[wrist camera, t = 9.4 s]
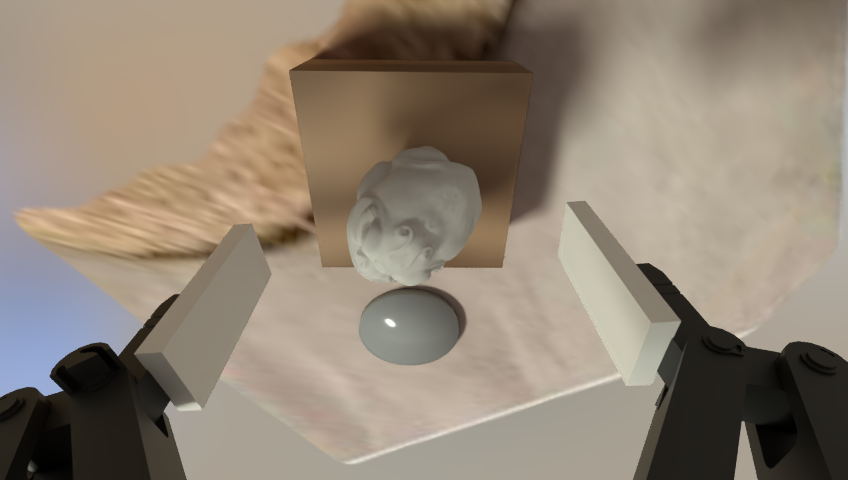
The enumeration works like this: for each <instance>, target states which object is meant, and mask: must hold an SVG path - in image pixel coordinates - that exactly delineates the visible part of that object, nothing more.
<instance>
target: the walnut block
mask: <svg viewBox="0 0 848 480" xmlns="http://www.w3.org/2000/svg"><path fill="white" fill-rule="evenodd" d="M289 74H290V80H291V86H292V92H293V97H294V103H295V109H296V115H297V121H298V127H299V133H300V138H301V144H302V150H303V156H304V162H305V168H306V174H307V179H308V185H309V191H310V197H311V203H312V209H313V215H314V220H315V226H316V232H317V238H318V244H319V250H320V256H321V261H322V267H355V266H354V264H353V262H352V259H351V255H350V251H349V245H348V240H347V222H348V218H349V215H350V212H351V210H352V208H353V206H355V204H356V202H357V201H358V200H357V190H358V186H359V183H360V181H361V180H362V178H363V177H364V175H365V174H366V173H367V172H368V171H369V170H370V169H372V168H373V166H374V165H375V164H376V163H378V162H381V161H388V162H390V161H391V160H392V159H393V157H394V156H395V155H397V154H398V153H400V152H401V151H404V150H407V149H411V148H419V147H422V146H432V147H434V148H436V149H437V150H439V151H440V152H442V153H443V154H444V155H445V156H446V157H447V159H448V160H449V161H450V162H456V163H459V164H462V165H465V166H467V167H470V168H471V169H472V170H473V171H474V173H475V175H476V178H477V182H478V186H479V189H480V196H481V201H482V211H481V215H480V218H479V220H478V222H477V223H476V227H475V230H474V232H473V233H472V234H471V235H469V238H468V240H467V243H466V244H465V246H464V248H463V249H462V250H461V252H460V253H458V254H457V256H455V257H454V258H452V259H451V260H449V261H446V262H445V264H444V267H453V268H502V266H503V259H504V253H505V247H506V241H507V234H508V228H509V222H510V216H511V209H512V203H513V197H514V191H515V184H516V178H517V172H518V166H519V159H520V153H521V147H522V141H523V134H524V128H525V122H526V116H527V109H528V103H529V97H530V91H531V84H532V78H533V73H532V72H530V71H528V70H527V69H525V68H524V67H522V66H520V65H519V64H517V63H516V62H514V61H449V60H373V59H310V60H308V61H306V62H304V63H302V64H300V65H299V66H297V67H295V68H293V69H291V70H289Z"/></svg>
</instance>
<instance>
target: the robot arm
mask: <svg viewBox="0 0 848 480" xmlns="http://www.w3.org/2000/svg"><path fill="white" fill-rule="evenodd" d="M558 258H559V260H560V262H561V263H562V265H563V267H564V269H565V271H566V273H567V275H568V277H569V279H570V280H571V282H572V284H573V286H574V288H575V290H576V292H577V294H578V296H579V298H580V299H581V301H582V303H583V305H584V307H585V309H586V311H587V313H588V315H589V316H590V318H591V320H592V322H593V324H594V326H595V328H596V330H597V332H598V333H599V335H600V337H601V339H602V341H603V343H604V345H605V347H606V349H607V350H608V352H609V354H610V356H611V358H612V360H613V362H614V364H615V366H616V367H617V369H618V371H619V373H620V375H621V377H622V379H623V381H624V383H625V384H626V386H637V385H652V383H653V381H654V379H655V377H656V374H657V373H659V375H660V376H661V378H662V379H663V381H664V383H665V385H664V388H663V389H662V391H661V394H660V395H659V398H658V400H657V402H656V404H655V405H656V406H657V407H656V411H655V414H654V417H653V420H652V423H651V426H650V429H649V432H648V435H647V438H646V441H645V444H644V447H643V450H642V453H641V457H640V460H639V463H638V466H637V469H636V472H635V475H634V478H633V480H734V474H735V468H736V460H737V453H738V445H739V437H740V430H741V422H742V421H745V426H746V430H747V435H748V439H749V443H750V448H751V452H752V456H753V461H754V465H755V469H756V474H757V478H758V480H848V362H847V361H845V360H844V359H843V358H842V357H840V356H839V355H838V354H836V353H834V352H832V351H830V350H828V349H826V348H824V347H821V346H819V345H815V344H812V343H808V342H800V341H797V342H792V343H789V344H788V345H787V346H786V347H785V348H784V349H783V350H782V352H781V353H779V352H773V351H768V350H762V349H757V348H751V347H747V346H746V345H745V344H744V343H743V342H742V341H741V340H740V339H739V338H737V337H736V336H735V335H733V334H731V333H729V332H727V331H725V330H723V329H720V328H716V327H712V326H709V324H708V323H707V322H706V321H705V320H704V319H703V318H702V316H701V315H700V314H699V313H698V312H697V311H696V309H695V308H694V307H693V306H692V305H691V304H690V303H689V301H688V300H687V299H686V298H685V297H684V296H683V295H682V294H680V291H679V290H678V289H677V288H676V287H675V285H672V282H671V281H670V280H669V279H668V277H667V276H666V275H665V274H664V273H663V272H662V271H660V270H659V269H657V268H656V267H654V266H652V265H651V264H649V263H644V264H635V263H634V261H633V260H632V259H631V258H630V256H629V255H628V254H627V253H626V251H625V250H624V249H623V248H622V246H621V245H620V244H619V243H618V241H617V240H616V239H615V238H614V236H613V235H612V234H611V233H610V231H609V230H608V229H607V228H606V226H605V225H604V224H603V223H602V221H601V220H600V219H599V218H598V216H597V215H596V214H595V213H594V211H593V210H592V209H591V207H590V206H589V205H588V204H587V202H586V201H577V202H566V208H565V214H564V220H563V226H562V232H561V238H560V244H559V250H558ZM271 275H272V274H271V271H270V269H269V266H268V264H267V261H266V259H265V256H264V253H263V251H262V248H261V246H260V243H259V241H258V238H257V235H256V233H255V230H254V228H253V225H252V224H241V225H234V226H233V227H232V228H231V229H230V231H229V232H228V233H227V235H226V236H225V237H224V238H223V240H222V241H221V242H220V244H219V245H218V246H217V247H216V249H215V250H214V251H213V253H212V254H211V255H210V257H209V258H208V259H207V260H206V262H205V263H204V264H203V266H202V267H201V268H200V269H199V271H198V272H197V273H196V275H195V276H194V277H193V278H192V280H191V281H190V282H189V284H188V285H187V286H186V287H185V289H184V290H183V291H182V293H181V294H174V295H173V296H171V297H170V298H169V299H167V300H166V301H165V302H163V303H162V304H161V305H160V306H159V307H158V308H157V309H156V311H155V312H154V313H153V314H152V315H151V319H148V320H147V322H146V323H145V324H144V325H143V328H142V329H140V330H139V331H138V333H137V334H136V335H135V336H134V338H133V339H132V340H131V341H130V342H129V344H128V345H127V346H126V348H125V349H124V350H123V351H122V352H121V354H120V355H119V356H117V355H116V354H115V352H114V351H113V350H112V349H111V348H110V346H109V345H108V344H106V343H101V342H100V343H93V344H89V345H86V346H83V347H81V348H78V349H77V350H75V351H73V352H71V353H69V354H68V355H67V356H65V357H64V358H63V359H62V360H60V361H59V362H58V363H57V364H56V366H55V367H54V368H53V369H52V371H51V374H50V378H51V379H52V380H54V382H55V383H56V384H58V385H59V387H61V388H62V389H63V390H64V391H61V392H58V393H55V394H52V395H48V396H44V395H43V394H41V393H40V392H39V391H38V390H37V389H36V388H33V387H26V388H22V389H18V390H15V391H13V392H10V393H9V394H6V395H4V396H2V397H0V480H187V479H186V476H185V473H184V469H183V466H182V462H181V459H180V456H179V452H178V449H177V446H176V442H175V439H174V436H173V432H172V429H171V425H170V422H169V419H168V417H167V415H166V414H165V413H164V412H163V411H164V409H165V408H166V406H167V404H168V403H169V401H171V402H172V403H173V404H174V406H175V407H176V408H177V410H178V411H188V410H189V411H190V410H203V408H204V406H205V404H206V402H207V400H208V398H209V396H210V394H211V393H212V391H213V389H214V387H215V385H216V383H217V381H218V379H219V377H220V375H221V373H222V371H223V369H224V367H225V365H226V363H227V361H228V359H229V357H230V355H231V353H232V351H233V349H234V347H235V345H236V343H237V341H238V340H239V338H240V336H241V334H242V332H243V330H244V328H245V326H246V324H247V322H248V320H249V318H250V316H251V314H252V312H253V310H254V308H255V306H256V304H257V302H258V300H259V298H260V296H261V294H262V292H263V290H264V289H265V287H266V285H267V283H268V281H269V279H270V277H271Z"/></svg>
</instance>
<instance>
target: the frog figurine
mask: <svg viewBox="0 0 848 480" xmlns="http://www.w3.org/2000/svg"><path fill="white" fill-rule="evenodd" d="M357 200H358V201H357V202H356V204H355V206H353V208H352V210H351V212H350V215H349V218H348V222H347V240H348V245H349V251H350V255H351V259H352V262H353V264H354V266H355V268H356V269H357V270H358V272H359V273H360V274H361V275H362V276H364V277H365V278H367V279H369V280H371V281H373V282H379V283H386V282H395V281H398V282H399V283H401V284H403V285H406V286H415V285H417V284H420V283H422V282H424V281H426V280H428V279H429V278H430V276H431V274H433V273H435V272H438V271H439V270H440V269H442V268H443V267H444V264H445V262H446V261H449V260H451V259H452V258H454V257H455V256H457V254H458V253H460V252H461V250H462V249H463V248H464V246H465V244H466V243H467V240H468V238H469V235H471V234H472V233H473V232H474V230H475V227H476V223H477V222H478V220H479V218H480V215H481V211H482V201H481V196H480V189H479V186H478V182H477V178H476V175H475V173H474V171H473V170H472V169H471V168H470V167H467V166H465V165H462V164H459V163H456V162H450V161H449V160H448V159H447V157H446V156H445V155H444V154H443V153H442V152H440V151H439V150H437V149H436V148H434V147H432V146H422V147H419V148H411V149H407V150H404V151H401V152H400V153H398V154H397V155H395V156H394V157H393V159H392V160H391V161H390V162H388V161H381V162H378V163H376V164H375V165H374V166H373V168H372V169H370V170H369V171H368V172H367V173H366V174H365V175H364V177H363V178H362V180H361V181H360V183H359V186H358V190H357Z"/></svg>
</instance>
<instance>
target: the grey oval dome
mask: <svg viewBox="0 0 848 480" xmlns="http://www.w3.org/2000/svg"><path fill="white" fill-rule="evenodd" d="M359 334H360V338H361V341H362V342H363V344H364V346H365V347H366V348H367V349H368V350H369V351H370V352H371V353H372V354H373V355H375V356H376V357H378V358H380V359H382V360H384V361H387V362H390V363H394V364H399V365H421V364H426V363H430V362H433V361H435V360H437V359H439V358H441V357H443V356H444V355H446V354H447V353H448V352H449V351H450V350H451V349H452V348H453V347H454V345H455V344H456V342H457V340H458V336H459V325H458V318H457V315H456V313H455V311H454V309H453V308H452V306H451V305H450V304H449V303H448V302H447V301H445V300H444V299H443V298H441V297H439V296H438V295H435V294H433V293H431V292H427V291H423V290H418V289H399V290H394V291H390V292H387V293H384V294H382V295H380V296H378V297H377V298H375V299H374V300H372V301H371V302H370V303H369V304H368V305H367V306H366V308H365V309H364V311H363V313H362V316H361V320H360V325H359Z"/></svg>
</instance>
